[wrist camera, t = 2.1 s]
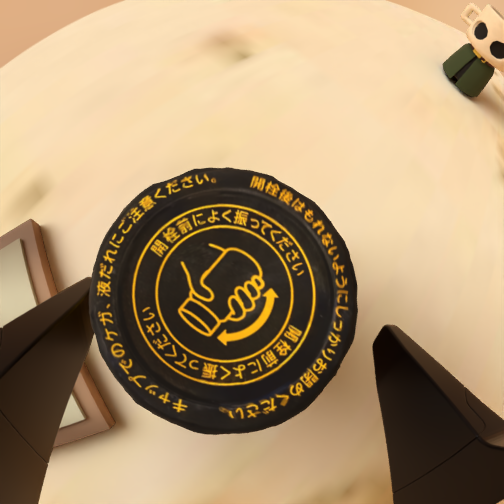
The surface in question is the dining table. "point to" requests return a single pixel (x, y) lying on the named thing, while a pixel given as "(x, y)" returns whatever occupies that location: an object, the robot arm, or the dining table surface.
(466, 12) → the character mug
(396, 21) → the dining table surface
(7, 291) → the plinth
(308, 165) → the dining table surface
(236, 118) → the dining table surface
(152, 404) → the condiment
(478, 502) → the robot arm
